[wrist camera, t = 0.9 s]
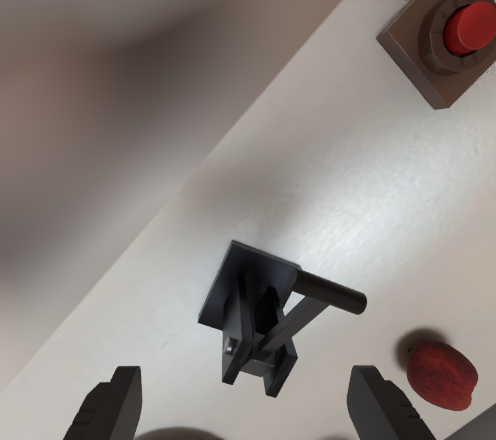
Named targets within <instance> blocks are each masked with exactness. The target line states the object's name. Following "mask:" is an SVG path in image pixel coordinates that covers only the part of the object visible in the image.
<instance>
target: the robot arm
mask: <svg viewBox="0 0 496 440" xmlns="http://www.w3.org/2000/svg"><path fill="white" fill-rule="evenodd" d="M347 407H348V412H349V415H350V418H351V420H352V422H353V424H354V427H355V429H356V431H357V433H358V436H359V438H360V440H436V438H435V437H434V436H433V434H432V433H431V431H430V430H429V428H428V427H427V425H426V424H425V423H424V421H423V420H422V419H421V418H420V415H419V414H418V412H417V411H416V409H415V408H414V407H412V404H411V402H410V401H409V399H408V398H407V396H406V395H405V394H404V392H403V391H402V390H401V389H400V388H398V387H397V386H396V385H395V384H394V383H393V382H391V381H390V380H384V379H383V377H382V376H381V374H380V372H379V371H378V369H377V368H376V367H375V366H373V365H355V366H353V368H352V371H351V377H350V382H349V388H348V394H347ZM141 408H142V385H141V369H140V366H118V367H117V368H116V370H115V372H114V374H113V377H112V379H111V381H110V382H100V383H99V384H98V385H97V386H96V387H95V388H94V389H93V390H92V391H91V392H90V393H89V394H87V396H86V398H85V400H84V401H83V403H82V405H81V407H80V409H79V412H78V413H77V414H76V416H75V418H74V420H73V422H72V425H71V426H70V427H69V429H68V431H67V433H66V435H65V437H64V439H63V440H133V438H134V435H135V432H136V429H137V425H138V422H139V419H140V414H141Z"/></svg>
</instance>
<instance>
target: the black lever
mask: <svg viewBox="0 0 496 440" xmlns="http://www.w3.org/2000/svg"><path fill="white" fill-rule="evenodd" d="M287 287H288V289H289V290H291V291H293V292H296V293H299V294H302V295H304V296H305V297H304V298H303V299H302V300H301V301H300V302H299V303H298V304H297V305H296V306H295V307H294V308H293V309H292V310H291V311H290V312H289V313H288V314H287V315H286V316H285V317H284V318H283V319H282V320H281V321H280V322H279V323H278V324H277V325H276V326H275V327H274V328H273V329H272V330H271V331H270V332H268V333H267V334H266V335H262V334H259V333H256V332H254V333H253V334H252V336H253V345H252V347H251V349H250V351H249V353H248V355H247V357H246V359H245V361H244V363H243V365H242V367H241V369H240V371H242V372H246V373H249V374H252V375H255V376H259V377H262V376H263V375H265V374H266V373H267V372H269V371H270V370H271V369H273V368H274V367H275V356H276V350H277V349H279V348H280V347H281V346H282V345H283V344H284V343H286V342H287V341H288V340H289V339H290V338H292V337H293V336H294V335H295V334H296V333H297V332H299V331H300V330H301V329H302V328H303V327H304V326H306V325H307V324H308V323H309V322H310V321H312V320H313V319H314V318H315V317H316V316H317V315H319V314H320V313H321V312H322V311H323V310H324V309H326V308H327V307H328V306H329V305H332V306H334V307H337V308H340V309H343V310H345V311H348V312H351V313H354V314H356V315H359V314H361V313H363V312H364V310H365V308H366V305H367V298H366V296H365V294H363V293H361V292H358V291H356V290H353V289H350V288H348V287H345V286H343V285H340V284H337V283H335V282H332V281H329V280H327V279H324V278H322V277H319V276H316V275H314V274H311V273H308V272H306V271H303V270H301V269H298V268H295V269H293V270H292V272H291V273H290V275H289V278H288V283H287Z"/></svg>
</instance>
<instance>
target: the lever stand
mask: <svg viewBox="0 0 496 440" xmlns="http://www.w3.org/2000/svg"><path fill="white" fill-rule="evenodd" d="M295 268H298V269H301V270H302V268H301V267H300V266H298V265H295V264H293V263H290V262H288V261H285V260H282V259H280V258H277V257H275V256H272V255H269V254H267V253H264V252H262V251H259V250H256V249H254V248H251V247H248V246H246V245H243V244H241V243H238V242H235V241H232V242H231V244H230V247H229V249H228V251H227V254H226V256H225V258H224V260H223V263H222V265H221V267H220V269H219V272H218V274H217V276H216V279H215V281H214V283H213V285H212V288H211V290H210V292H209V295H208V297H207V299H206V301H205V304H204V306H203V308H202V310H201V313H200V315H199V318H198V323H200V324H203V325H206V326H209V327H212V328H215V329H218V330H222V331H223V354H222V382H223V383H227V384H230V385H233V383H234V381H235V379H236V377H237V375H238V373H239V371H240V369H241V367H242V365H243V363H244V361H245V359H246V357H247V355H248V353H249V351H250V349H251V347H252V345H253V336H252V334H253V333H254V332H256V333H259V334H262V335H266V334H267V333H268V332H270V331H271V330H272V329H273V328H274V327H275V326H276V325H277V324H278V323H279V322H280V321H281V320H282V319H283V318H284V317H285V316H284V313H283V308H284V306H285V304H286V302H287V300H288V298H289V296H290V294H291V292H292V291H291V290H289V289H288V287H287V283H288V278H289V275H290V273H291V272H292V270H293V269H295ZM297 359H298V356H297V353H296V350H295V347H294V344H293V341H292V338H290V339H289V340H288V341H287V342H286V343H284V344H283V345H282V346H281V347H280V348H279V349H277V350H276V356H275V367H274V368H273V369H271V370H270V371H269V372H267V373H266V374H265V375H263V379H264V386H265V392H266V395H267V396H271V397H274V398H276V397H277V395H278V393H279V392H280V390H281V388H282V386H283V384H284V382H285V381H286V379H287V377H288V375H289V373H290V372H291V370H292V368H293V366H294V364H295V362H296V361H297Z"/></svg>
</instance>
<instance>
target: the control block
mask: <svg viewBox="0 0 496 440" xmlns="http://www.w3.org/2000/svg"><path fill="white" fill-rule="evenodd" d="M476 2H487V3H490V4H491V5H492V6H493V7H494V8H495V9H496V3H495V2H494V0H410V2H409V3H408V4H407V5H406V6H405V7H404V8H403V9H402V10H401V12H400V13H399V14H398V15H397V16H396V17H395V18H394V19H393V20H392V21H391V23H390V24H389V25H388V26H387V27H386V28H385V29H384V30H383V31H382V33H381V34H380V35H379V36H378V37H377V40H378V41H379V42H380V44H381V45H382V46H383V47H384V49H385V50H386V51H387V52H388V53H389V55H390V56H391V57H392V58H393V60H394V61H395V62H396V63H397V64H398V66H399V67H400V68H401V69H402V70H403V72H404V73H405V74H406V75H407V77H408V78H409V79H410V80H411V81H412V83H413V84H414V85H415V86H416V88H417V89H418V90H419V91H420V92H421V94H422V95H423V96H424V97H425V98H426V100H427V101H428V102H429V103H430V105H431V106H432V107H433V108H434V109H435V110H436V109H444V108H449V107H450V106H451V105H452V104H453V103H454V102H455V101H456V100H457V99H458V98H459V97H460V96H461V95H462V94H463V93H464V92H465V91H466V90H467V89H468V88H469V87H470V86H471V85H472V84H473V83H474V82H475V81H476V80H477V79H478V78H479V77H480V76H481V75H482V74H483V73H484V72H485V71H486V70H487V69H488V68H489V67H490V66H491V65H492V64H493V63H494V62H495V61H496V34H495V35H494V37H493V39H492V40H491V41H490V42H489V43H488V44H487V45H486V46H484V47H482V48H480V49H477V50H474V51H471V52H468V53H466V54H455V53H452V52H451V51H450V50H449V49H448V48H447V46H446V44H445V41H444V31H445V27H446V25H447V23H448V21H449V20H450V18H451V17H452V16H453V15H454V14H455V13H457V12H459V11H460V10H462V9H464V8H466V7H468V6H470V5H472V4H474V3H476Z"/></svg>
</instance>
